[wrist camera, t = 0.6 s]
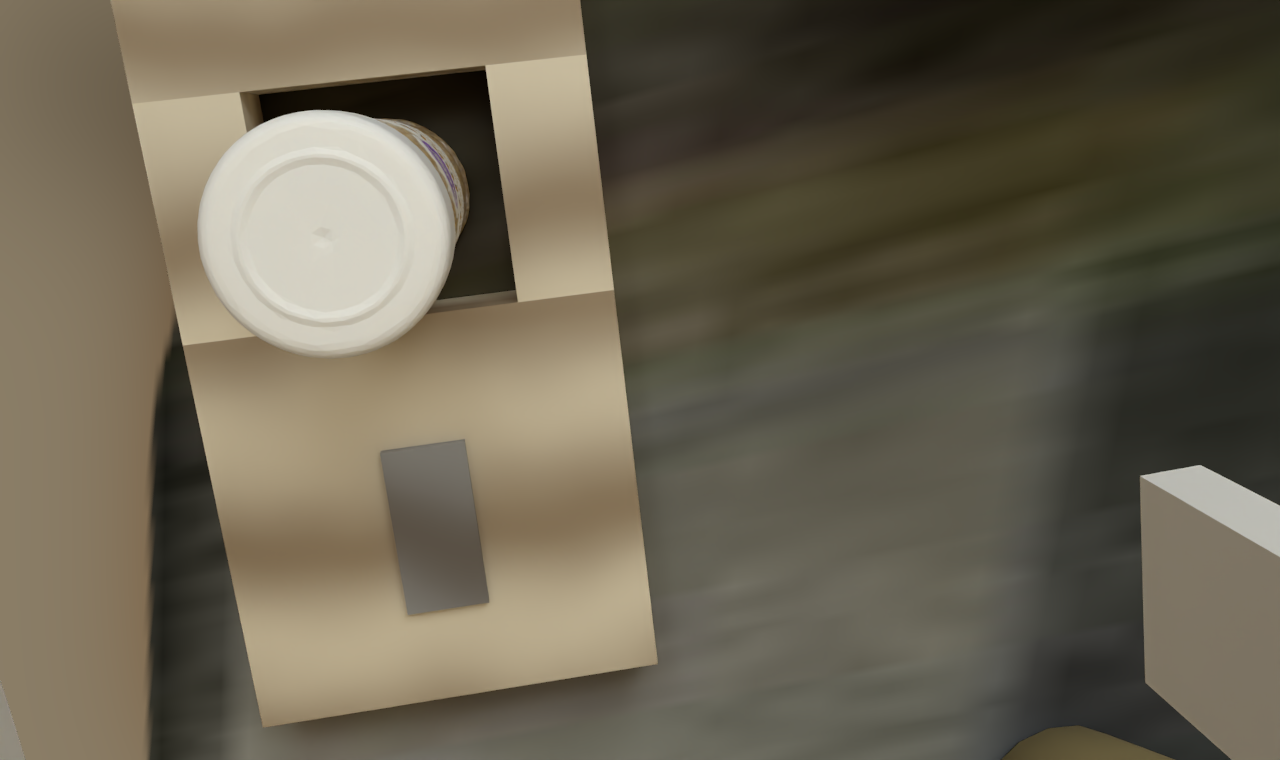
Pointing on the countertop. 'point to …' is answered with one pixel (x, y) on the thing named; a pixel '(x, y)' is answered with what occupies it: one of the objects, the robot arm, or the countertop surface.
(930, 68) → the countertop surface
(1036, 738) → the squeeze bottle
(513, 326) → the holder block
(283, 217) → the sprinkles bottle
